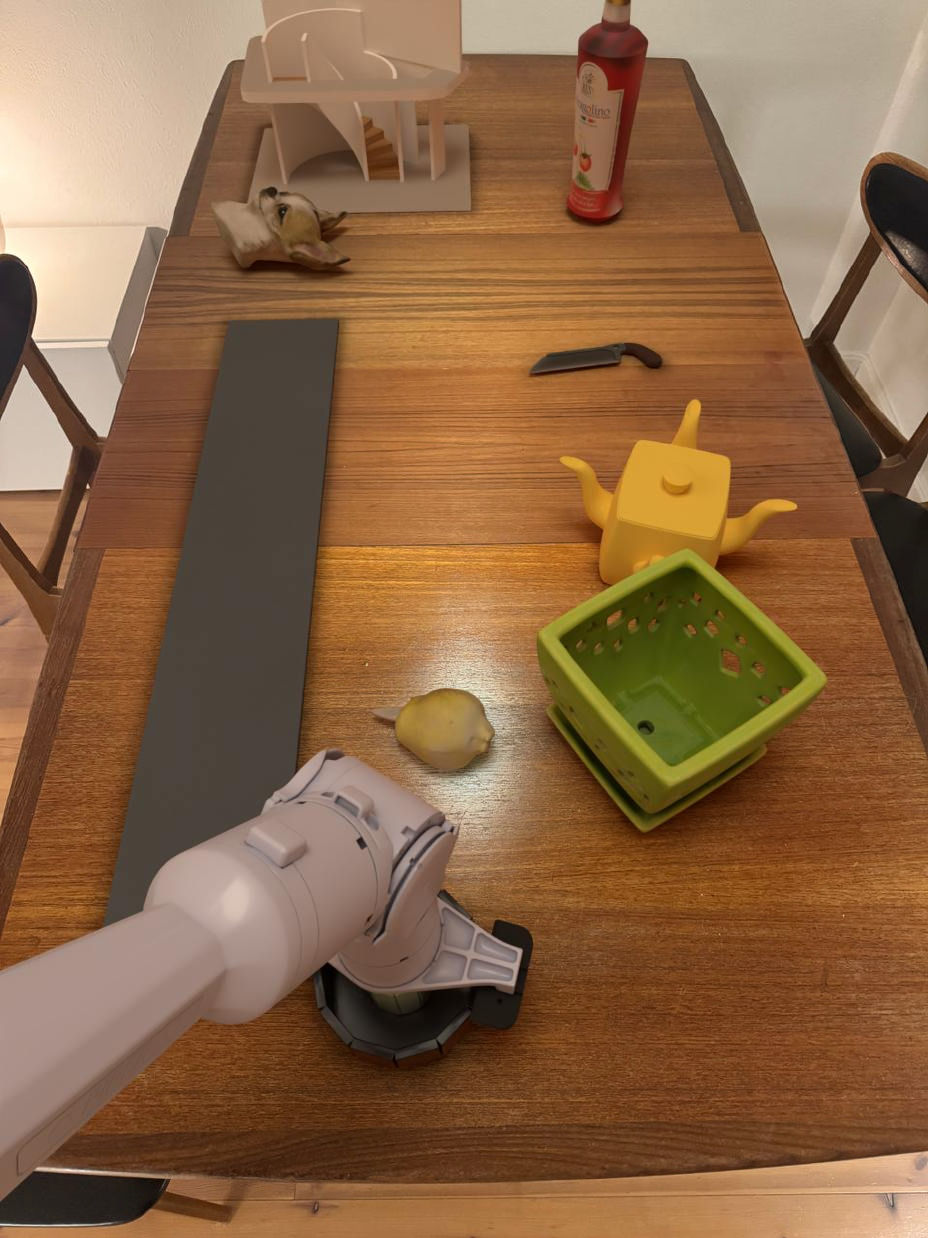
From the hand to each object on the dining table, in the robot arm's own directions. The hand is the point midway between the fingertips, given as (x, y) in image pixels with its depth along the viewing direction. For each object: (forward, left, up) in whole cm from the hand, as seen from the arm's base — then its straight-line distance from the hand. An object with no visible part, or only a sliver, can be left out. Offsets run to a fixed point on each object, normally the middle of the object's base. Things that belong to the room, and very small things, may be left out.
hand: (400, 971), depth 55 cm
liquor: (+91, +4, -3) cm, 91 cm away
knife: (+63, -1, -3) cm, 63 cm away
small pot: (0, 0, -2) cm, 2 cm away
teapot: (+40, -11, -3) cm, 42 cm away
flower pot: (+21, -13, -3) cm, 25 cm away
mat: (+28, +23, -3) cm, 37 cm away
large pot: (0, 0, -3) cm, 3 cm away
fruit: (+17, +3, -3) cm, 18 cm away
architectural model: (+94, +35, -3) cm, 101 cm away
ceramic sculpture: (+73, +37, -3) cm, 82 cm away
